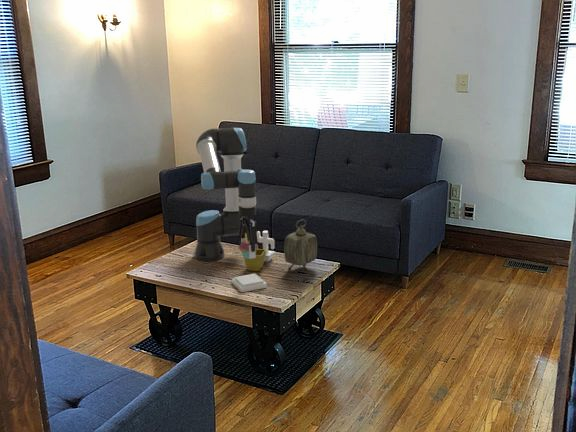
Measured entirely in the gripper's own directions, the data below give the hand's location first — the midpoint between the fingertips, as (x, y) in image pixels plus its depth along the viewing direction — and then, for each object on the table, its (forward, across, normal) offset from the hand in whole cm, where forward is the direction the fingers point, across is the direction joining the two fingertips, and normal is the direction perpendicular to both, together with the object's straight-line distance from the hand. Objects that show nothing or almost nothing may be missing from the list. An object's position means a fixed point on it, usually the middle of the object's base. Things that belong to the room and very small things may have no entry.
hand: (248, 254), depth 268 cm
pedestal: (+14, 0, 0) cm, 14 cm away
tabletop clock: (+15, -7, +30) cm, 34 cm away
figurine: (+15, -27, +20) cm, 37 cm away
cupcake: (+1, 0, 0) cm, 1 cm away
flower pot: (+15, -17, +10) cm, 25 cm away
